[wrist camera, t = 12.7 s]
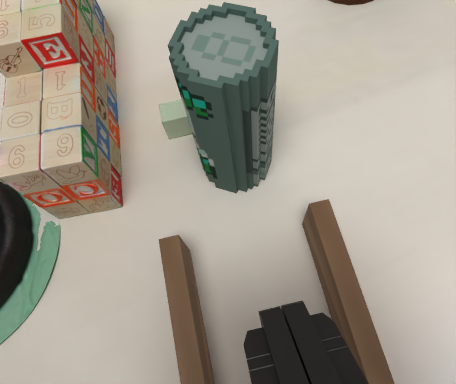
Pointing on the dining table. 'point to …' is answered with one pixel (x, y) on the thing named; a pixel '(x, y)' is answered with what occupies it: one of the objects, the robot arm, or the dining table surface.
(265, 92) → the can
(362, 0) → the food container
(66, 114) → the stack of blocks
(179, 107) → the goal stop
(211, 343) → the dining table surface
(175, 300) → the lane
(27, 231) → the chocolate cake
